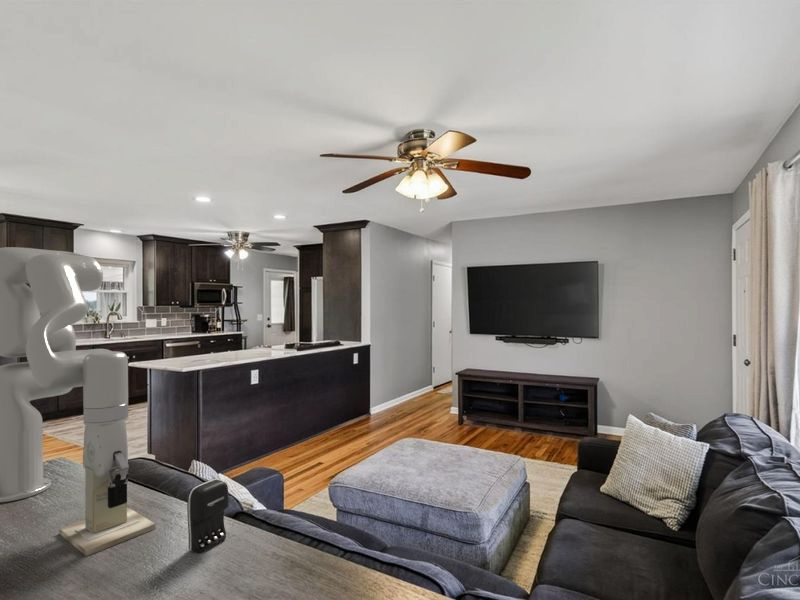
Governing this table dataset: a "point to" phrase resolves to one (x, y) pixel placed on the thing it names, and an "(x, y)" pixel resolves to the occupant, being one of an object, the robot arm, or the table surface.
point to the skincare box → (100, 504)
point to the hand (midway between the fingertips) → (107, 499)
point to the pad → (106, 533)
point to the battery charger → (207, 514)
